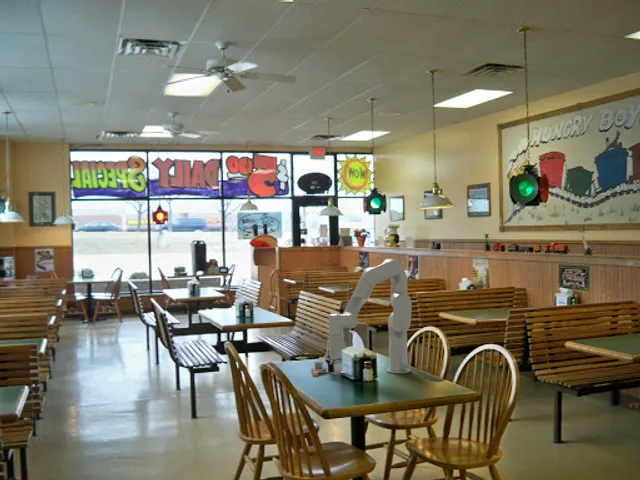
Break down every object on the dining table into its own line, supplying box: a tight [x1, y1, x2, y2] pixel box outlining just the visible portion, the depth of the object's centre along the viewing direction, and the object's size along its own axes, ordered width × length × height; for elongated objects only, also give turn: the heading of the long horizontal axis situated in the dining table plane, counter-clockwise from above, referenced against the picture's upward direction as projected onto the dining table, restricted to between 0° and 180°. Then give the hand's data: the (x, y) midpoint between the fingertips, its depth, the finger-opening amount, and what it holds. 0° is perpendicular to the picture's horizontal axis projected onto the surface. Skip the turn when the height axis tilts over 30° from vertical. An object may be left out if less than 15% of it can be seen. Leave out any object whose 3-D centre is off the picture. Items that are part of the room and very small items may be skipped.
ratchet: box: [310, 360, 328, 377], centre depth 330 cm, size 13×8×6 cm, turn 166°
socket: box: [327, 359, 342, 376], centre depth 330 cm, size 7×7×7 cm
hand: (336, 370), depth 330 cm, fingers closed on socket, 6 cm apart
